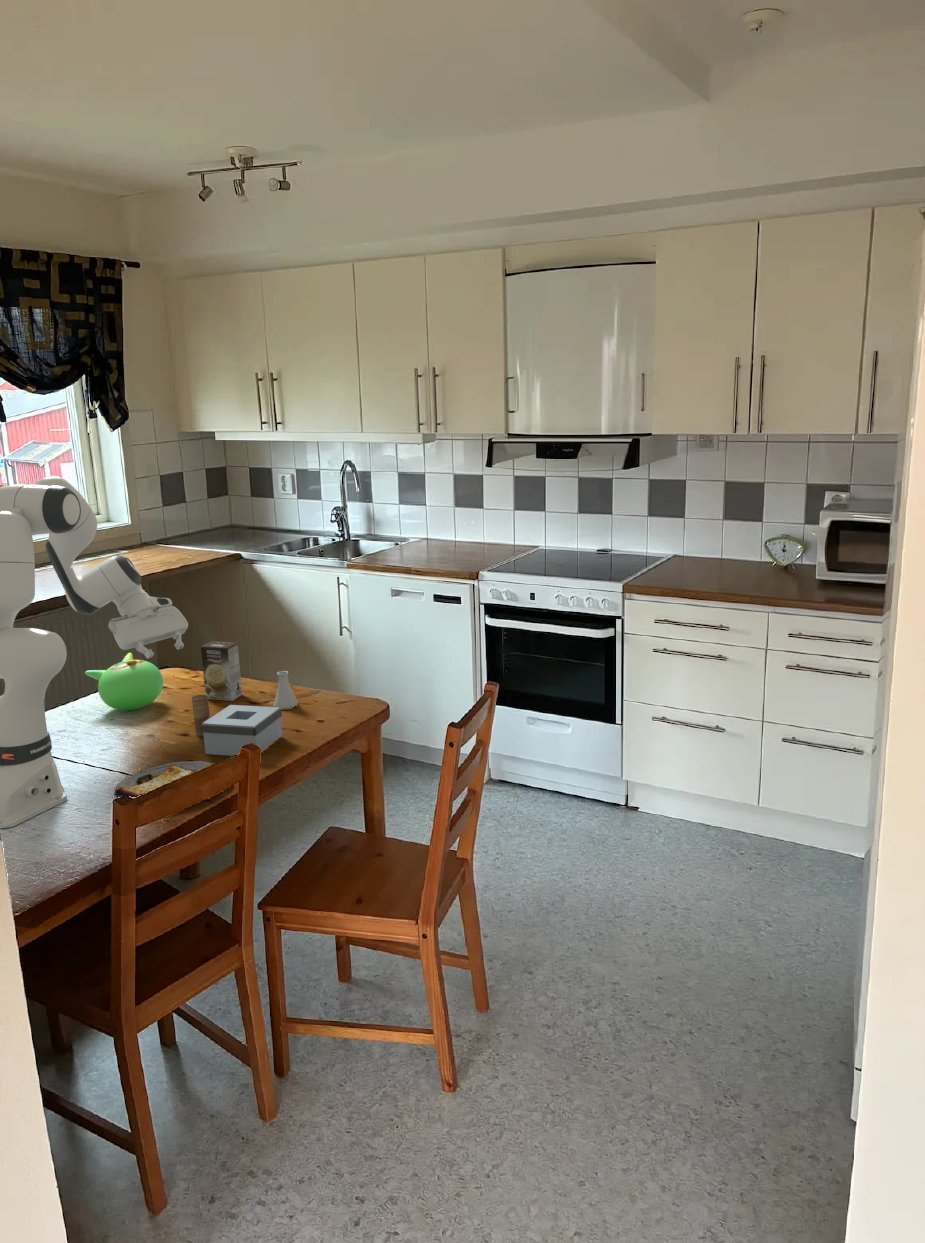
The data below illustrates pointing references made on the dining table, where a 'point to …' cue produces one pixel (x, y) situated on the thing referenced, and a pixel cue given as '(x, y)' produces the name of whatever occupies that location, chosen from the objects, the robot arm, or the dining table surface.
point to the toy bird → (128, 683)
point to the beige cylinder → (200, 712)
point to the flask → (284, 693)
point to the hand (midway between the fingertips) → (166, 652)
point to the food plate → (156, 777)
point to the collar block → (241, 728)
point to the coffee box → (221, 670)
